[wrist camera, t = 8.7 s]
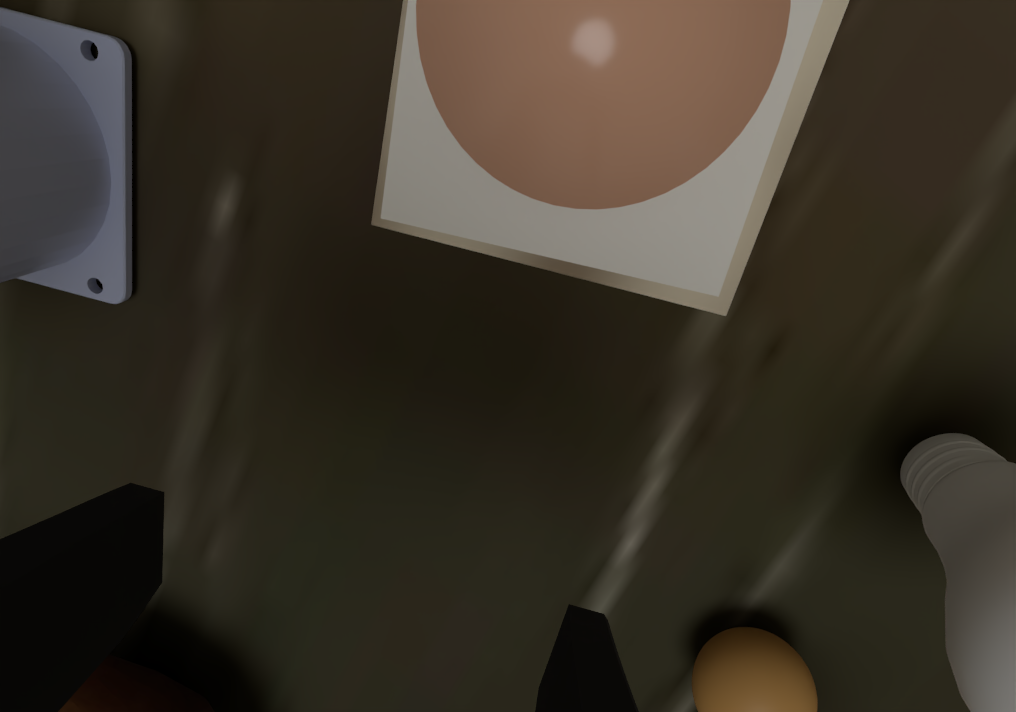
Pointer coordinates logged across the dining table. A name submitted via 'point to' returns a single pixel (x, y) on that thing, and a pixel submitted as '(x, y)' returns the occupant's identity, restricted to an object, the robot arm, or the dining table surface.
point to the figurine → (751, 674)
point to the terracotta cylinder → (598, 88)
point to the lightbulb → (972, 559)
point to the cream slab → (585, 232)
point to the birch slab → (778, 155)
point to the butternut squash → (133, 691)
